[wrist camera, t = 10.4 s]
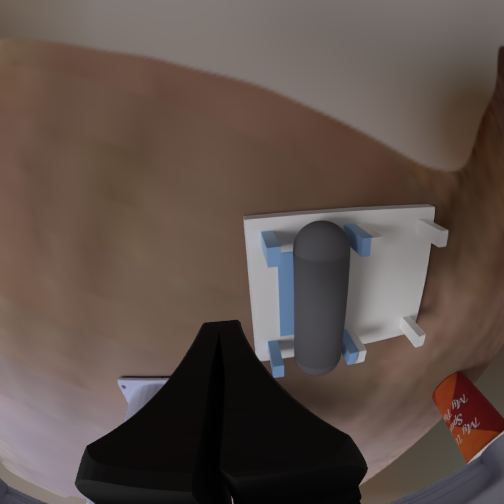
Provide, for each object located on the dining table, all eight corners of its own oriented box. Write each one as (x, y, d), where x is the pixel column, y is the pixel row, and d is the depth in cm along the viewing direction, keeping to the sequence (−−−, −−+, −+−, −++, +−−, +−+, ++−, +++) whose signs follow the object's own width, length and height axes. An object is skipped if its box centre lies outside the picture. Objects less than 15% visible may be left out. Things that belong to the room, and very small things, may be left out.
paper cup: (433, 379, 29) (485, 456, 16) (473, 358, 29) (526, 422, 16) (421, 412, 32) (460, 481, 19) (459, 392, 32) (501, 453, 19)
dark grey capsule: (328, 350, 23) (345, 378, 20) (288, 359, 23) (301, 389, 20) (335, 211, 19) (362, 226, 16) (284, 217, 18) (303, 234, 15)
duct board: (408, 326, 25) (428, 350, 21) (255, 353, 24) (260, 387, 20) (428, 203, 20) (459, 217, 17) (243, 215, 20) (247, 234, 16)
